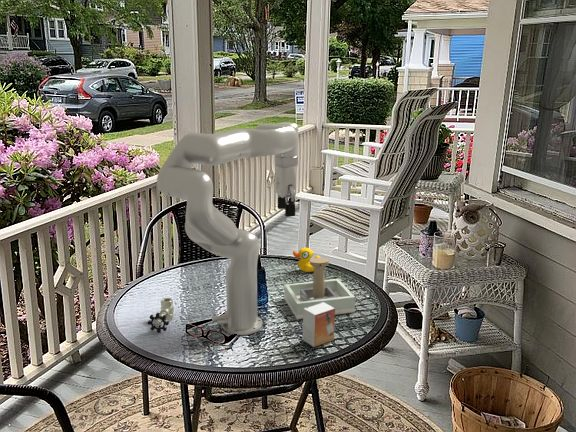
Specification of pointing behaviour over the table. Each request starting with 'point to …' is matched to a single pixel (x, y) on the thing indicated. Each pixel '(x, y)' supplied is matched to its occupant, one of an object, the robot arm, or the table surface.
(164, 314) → the valve
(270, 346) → the table surface
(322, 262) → the handle
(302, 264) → the duckling
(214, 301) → the table surface
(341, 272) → the table surface
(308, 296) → the housing
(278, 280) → the table surface
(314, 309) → the small box
